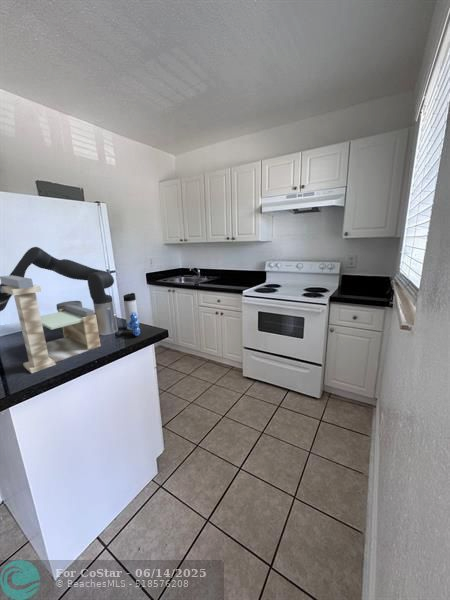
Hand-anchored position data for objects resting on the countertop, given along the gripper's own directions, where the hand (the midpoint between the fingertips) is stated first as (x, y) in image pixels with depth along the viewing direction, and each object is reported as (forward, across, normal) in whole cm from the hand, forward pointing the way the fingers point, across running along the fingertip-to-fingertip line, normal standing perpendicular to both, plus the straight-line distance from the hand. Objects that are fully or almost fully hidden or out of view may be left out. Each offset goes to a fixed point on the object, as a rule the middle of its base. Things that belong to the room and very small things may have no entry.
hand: (5, 287), depth 105 cm
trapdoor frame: (+5, +14, +33) cm, 36 cm away
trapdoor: (+9, +14, +20) cm, 26 cm away
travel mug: (+9, +47, +34) cm, 59 cm away
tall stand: (+13, 0, +36) cm, 38 cm away
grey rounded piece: (-20, +28, +24) cm, 42 cm away
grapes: (+18, +41, +38) cm, 58 cm away
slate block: (+19, -1, +4) cm, 20 cm away
